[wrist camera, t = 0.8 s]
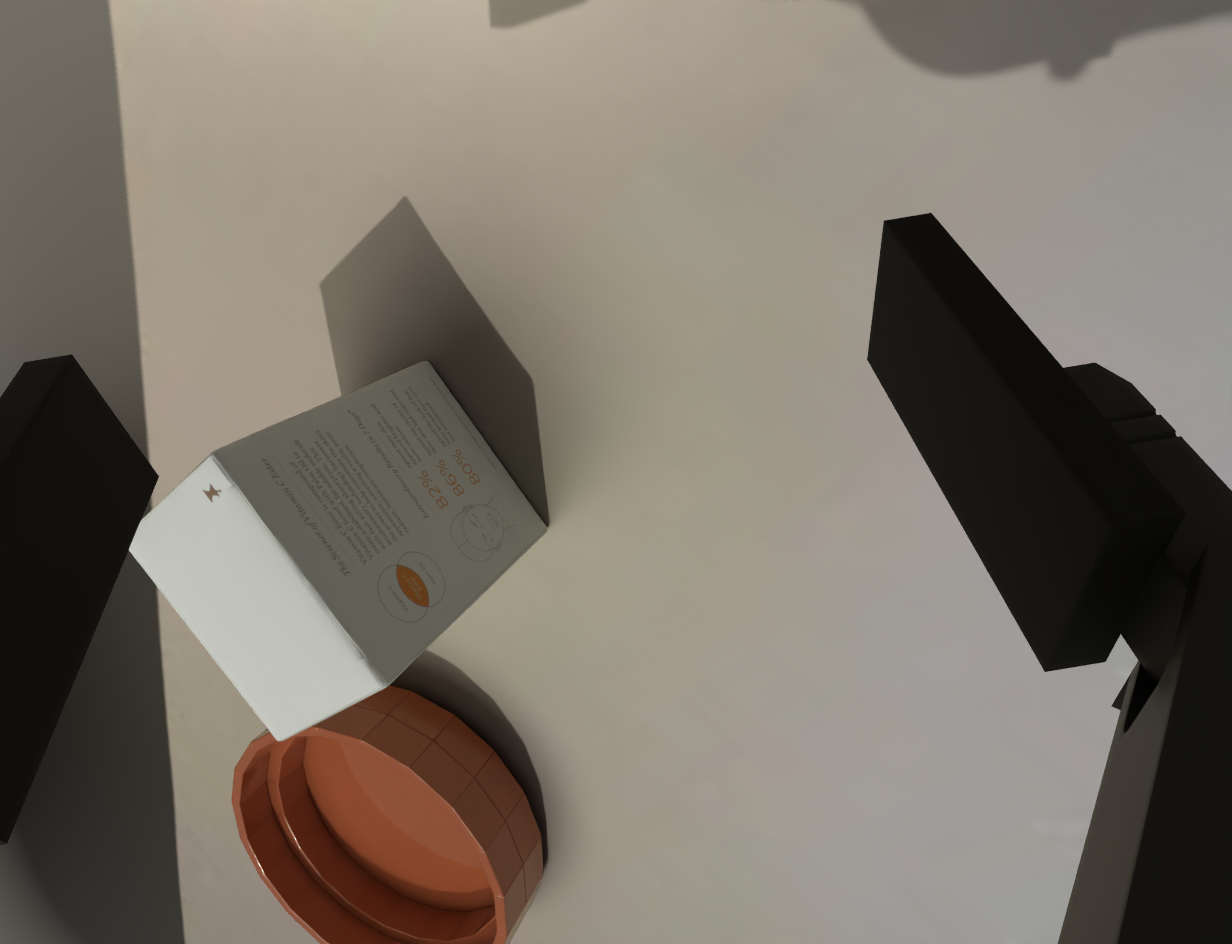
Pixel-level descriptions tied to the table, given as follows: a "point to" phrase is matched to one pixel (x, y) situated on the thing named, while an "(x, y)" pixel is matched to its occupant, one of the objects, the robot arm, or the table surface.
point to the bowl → (390, 827)
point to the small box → (337, 545)
